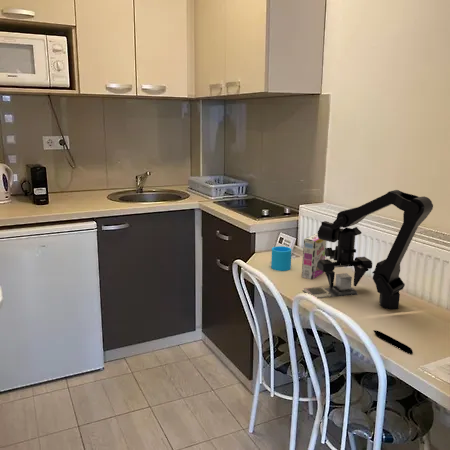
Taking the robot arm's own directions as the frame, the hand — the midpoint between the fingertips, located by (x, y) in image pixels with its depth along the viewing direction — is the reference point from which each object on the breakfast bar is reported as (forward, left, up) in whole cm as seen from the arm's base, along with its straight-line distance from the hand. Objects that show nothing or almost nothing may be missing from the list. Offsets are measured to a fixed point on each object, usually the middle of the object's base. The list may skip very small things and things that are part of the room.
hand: (343, 286), depth 166 cm
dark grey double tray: (0, +5, -3) cm, 6 cm away
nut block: (0, 0, -2) cm, 2 cm away
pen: (-36, +3, -3) cm, 37 cm away
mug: (+34, +12, -3) cm, 36 cm away
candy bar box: (+19, +3, -3) cm, 19 cm away
